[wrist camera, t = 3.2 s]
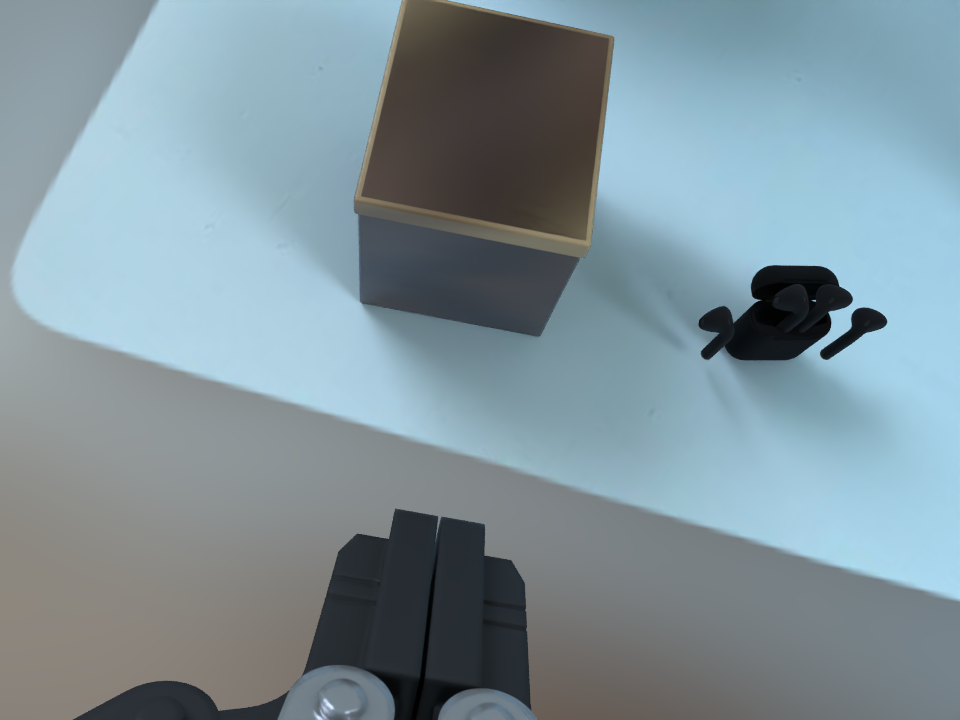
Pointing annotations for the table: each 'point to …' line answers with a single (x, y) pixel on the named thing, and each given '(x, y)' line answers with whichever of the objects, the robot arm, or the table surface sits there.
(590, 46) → the box
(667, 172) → the table surface
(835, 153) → the table surface
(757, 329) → the wireless earbuds
